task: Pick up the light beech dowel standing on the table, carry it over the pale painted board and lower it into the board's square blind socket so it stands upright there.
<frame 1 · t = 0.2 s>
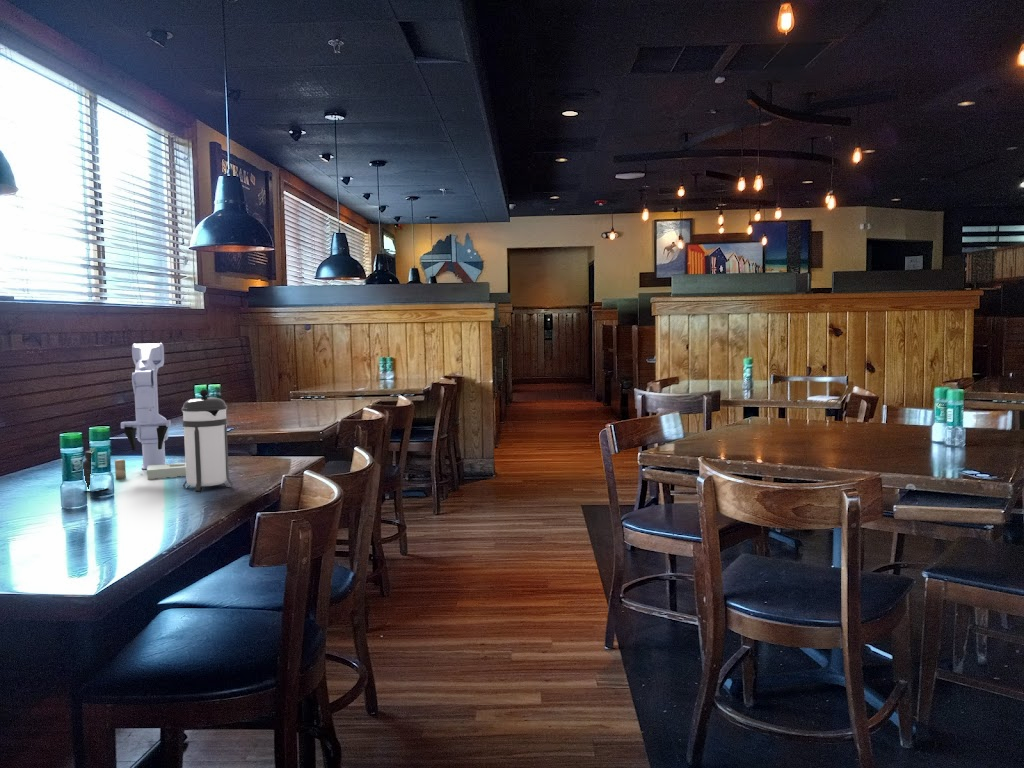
hand: (147, 449, 243), 10 cm above the table, tool pointing down, fingers open, 7 cm apart
coffee press: (205, 488, 230), on the table
bore block: (177, 474, 253), on the table
peg: (120, 478, 248), on the table
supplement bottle: (96, 490, 229), on the table
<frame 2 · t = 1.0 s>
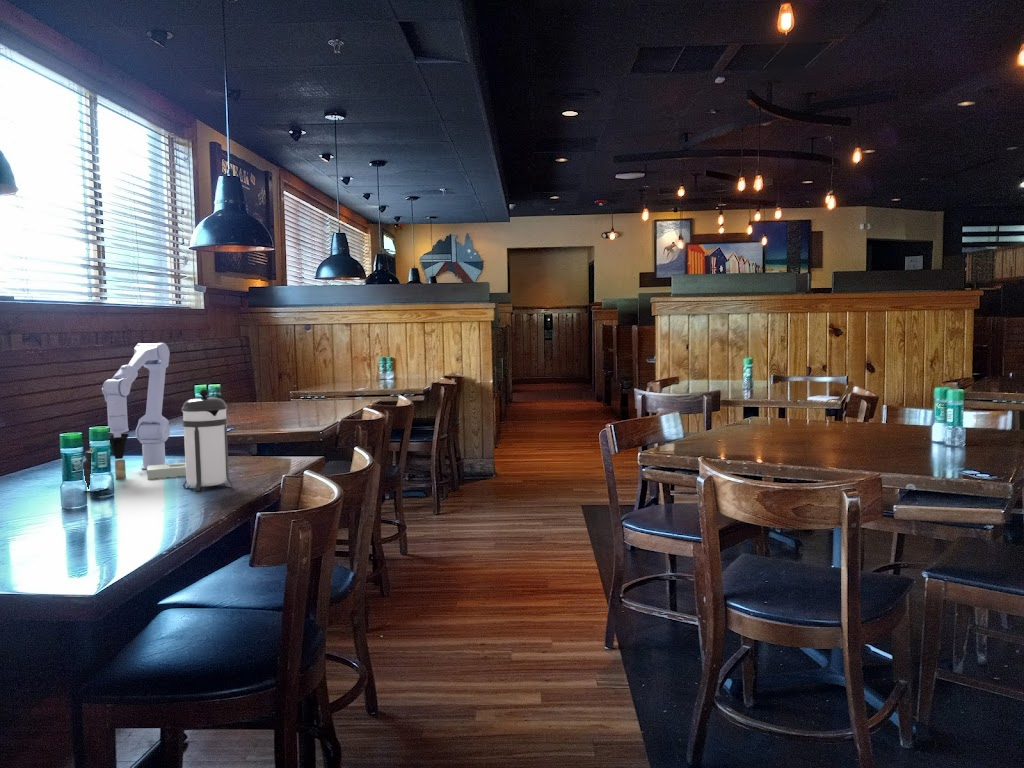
hand: (119, 457, 247), 7 cm above the table, tool pointing down, fingers open, 7 cm apart
nothing on the table moved.
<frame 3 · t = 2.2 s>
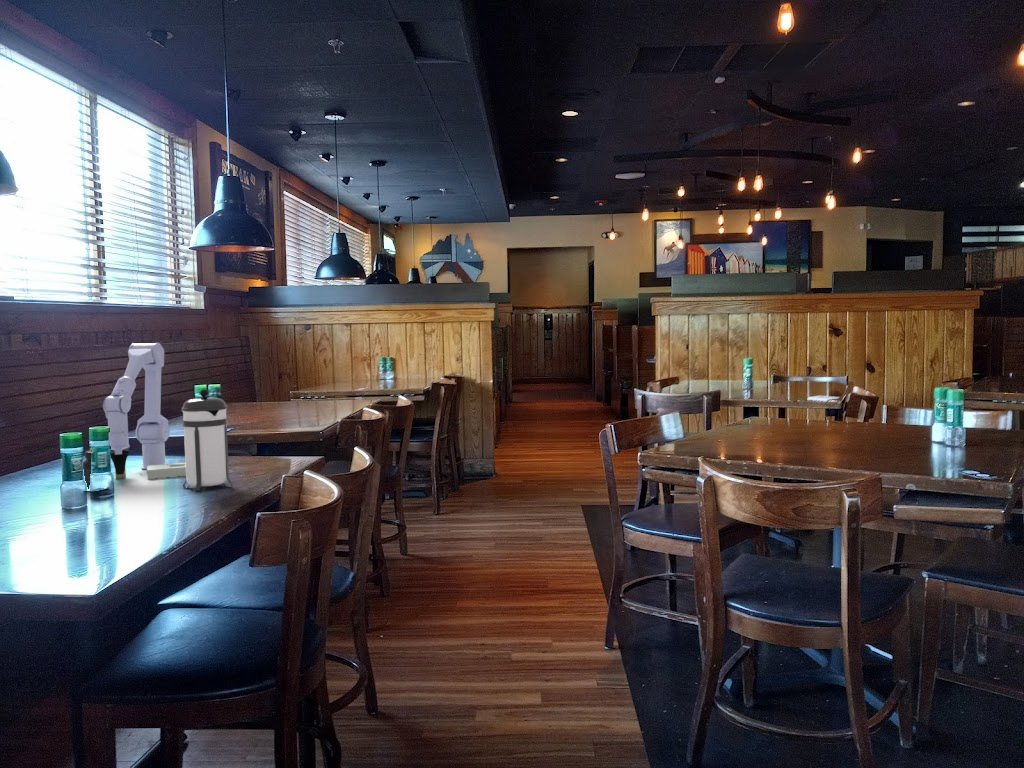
hand: (120, 473, 248), 2 cm above the table, tool pointing down, fingers closed on peg, 3 cm apart
peg: (120, 478, 248), on the table, touching gripper
everything else where it was.
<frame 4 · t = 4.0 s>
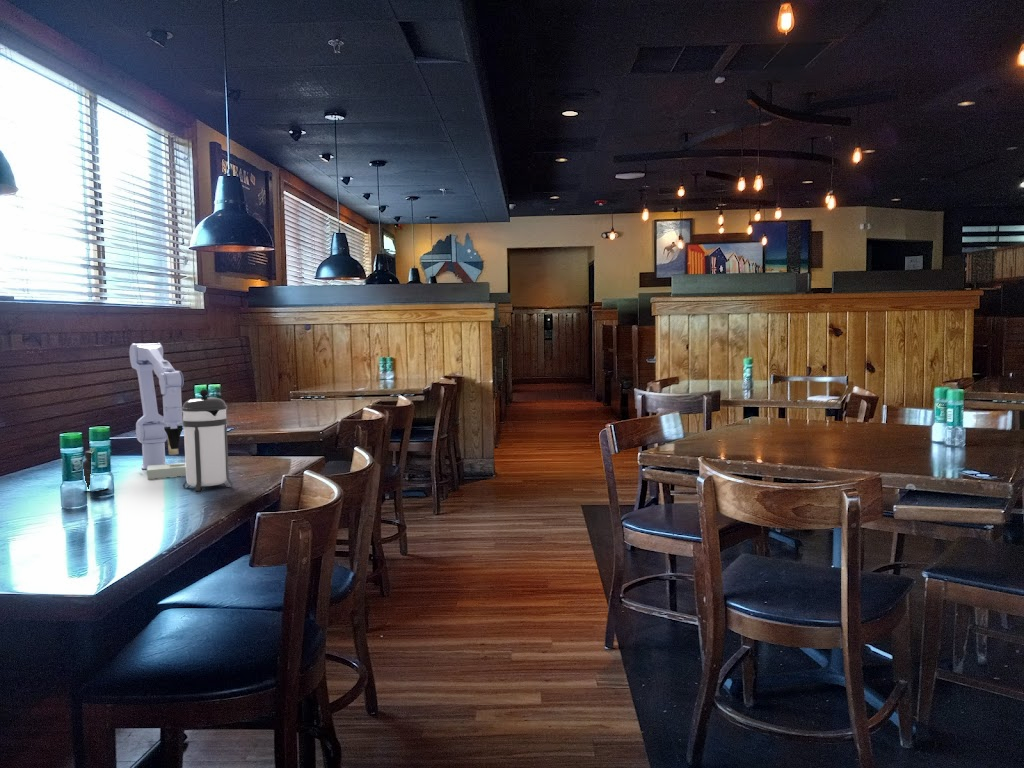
hand: (174, 448, 252), 9 cm above the table, tool pointing down, fingers closed on peg, 3 cm apart
peg: (173, 454, 252), point 7 cm above the table, touching gripper
everything else where it was.
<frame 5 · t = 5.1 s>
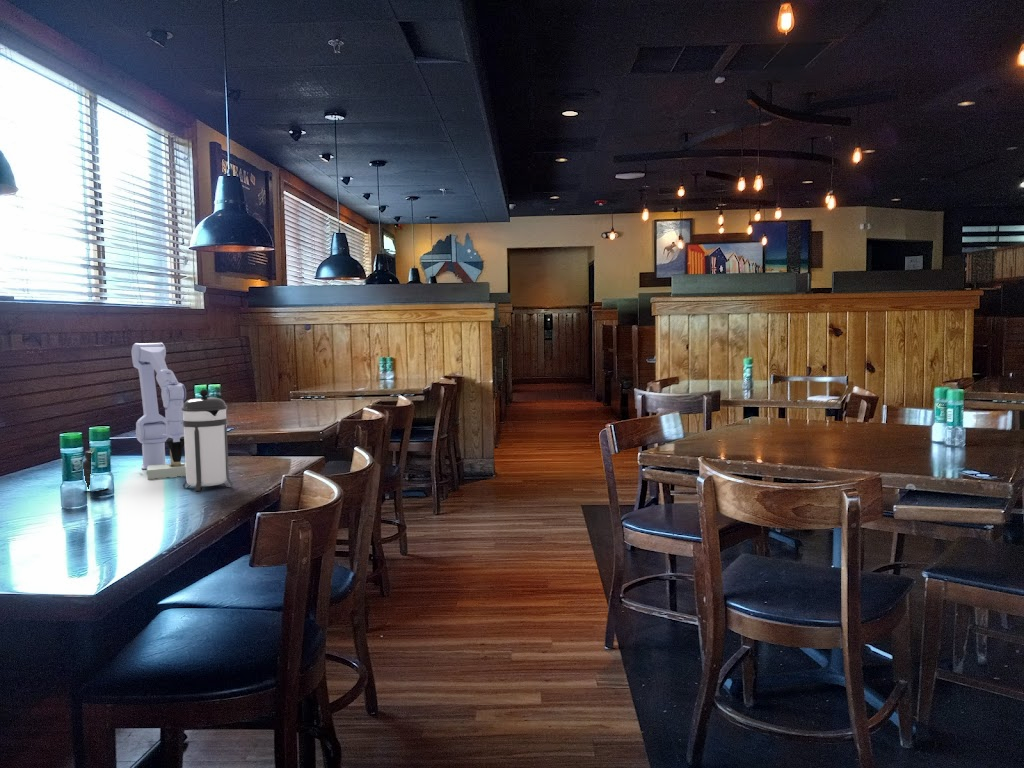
hand: (176, 461, 253), 5 cm above the table, tool pointing down, fingers closed on peg, 3 cm apart
peg: (176, 466, 253), point 3 cm above the table, touching gripper
everything else where it was.
when the fingers open (3 cm above the table, at t = 5.7 s): peg stays where it is, resting on bore block.
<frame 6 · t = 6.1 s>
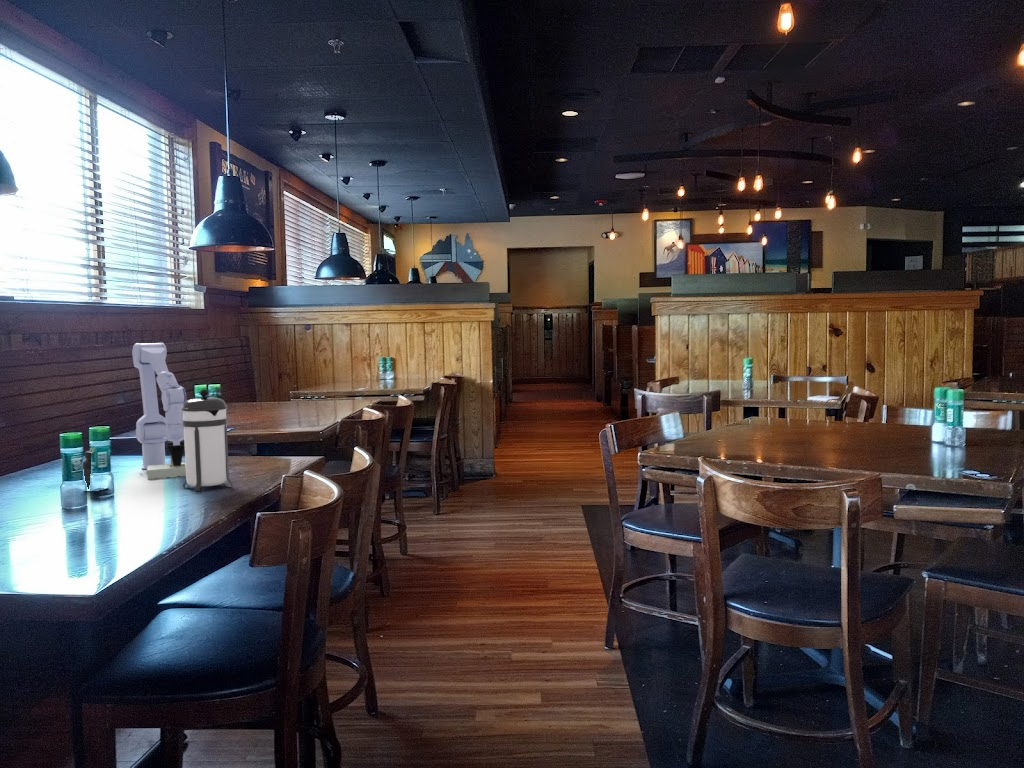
hand: (177, 464, 253), 3 cm above the table, tool pointing down, fingers open, 6 cm apart
peg: (176, 472, 253), point 1 cm above the table, touching bore block
everything else where it was.
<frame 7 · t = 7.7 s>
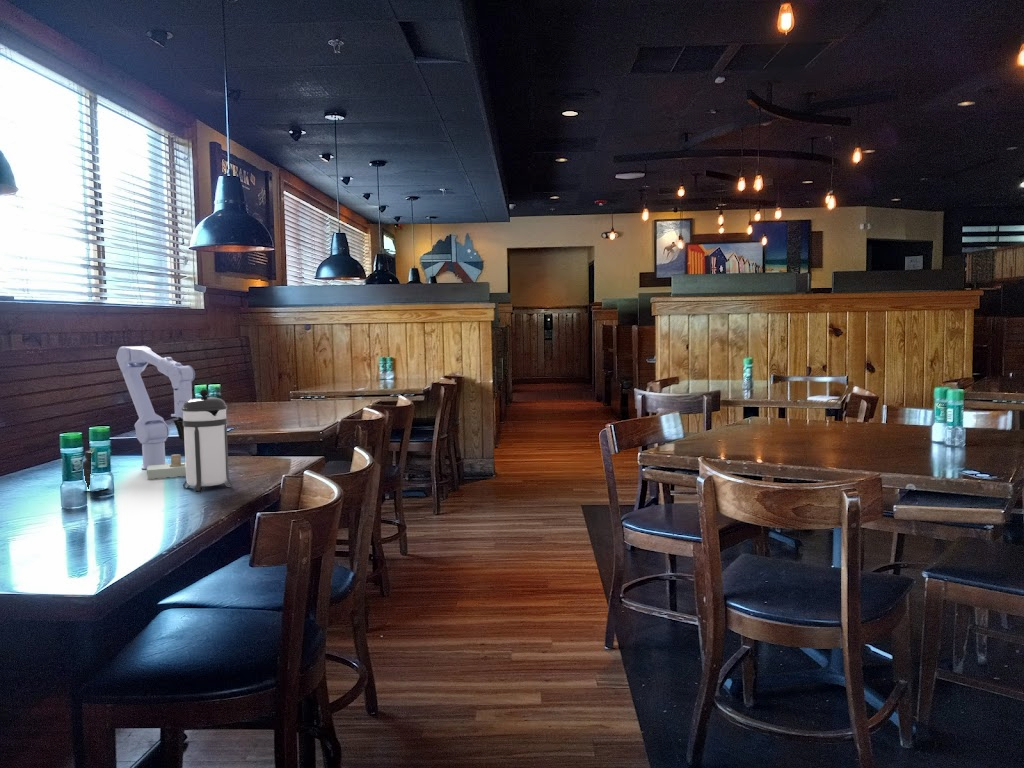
hand: (185, 440, 260), 10 cm above the table, tool pointing down, fingers open, 7 cm apart
nothing on the table moved.
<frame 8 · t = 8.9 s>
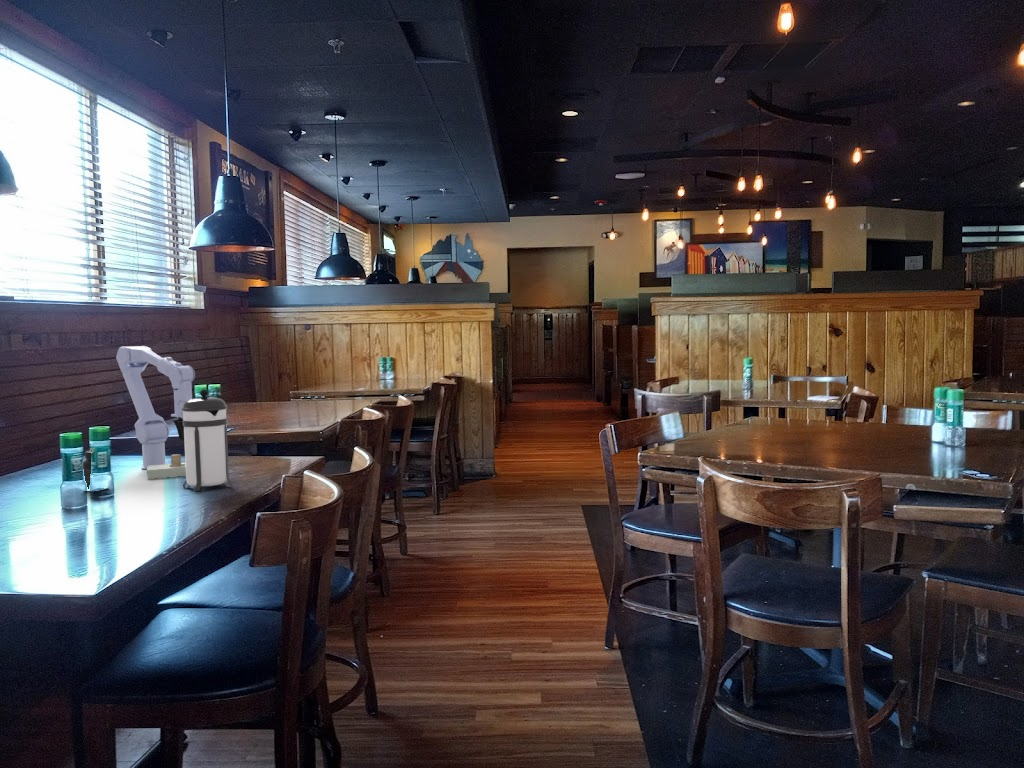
hand: (185, 440, 260), 10 cm above the table, tool pointing down, fingers open, 7 cm apart
nothing on the table moved.
at the end: peg 0.3 cm off-centre on the bore block, point 0.5 cm above the bore block's base; peg tilted 1°; the gripper is holding nothing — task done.
